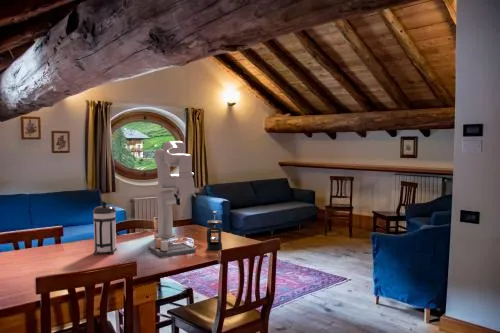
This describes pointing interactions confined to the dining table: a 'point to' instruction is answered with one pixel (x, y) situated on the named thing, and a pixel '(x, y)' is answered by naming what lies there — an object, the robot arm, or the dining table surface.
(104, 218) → the coffee press
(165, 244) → the fader ivory
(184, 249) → the console
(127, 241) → the dining table surface
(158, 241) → the fader terracotta
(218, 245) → the french press
